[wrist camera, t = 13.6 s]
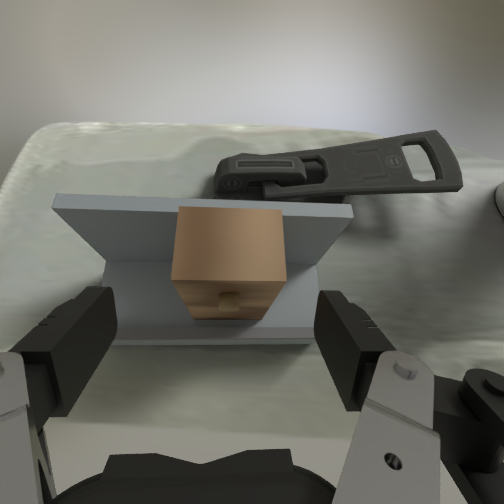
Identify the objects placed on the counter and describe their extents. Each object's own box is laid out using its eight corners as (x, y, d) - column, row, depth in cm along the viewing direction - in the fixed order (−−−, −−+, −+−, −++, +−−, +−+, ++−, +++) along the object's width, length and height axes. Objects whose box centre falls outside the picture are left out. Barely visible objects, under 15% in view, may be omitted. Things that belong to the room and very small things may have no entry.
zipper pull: (474, 191, 26) (213, 194, 24) (428, 225, 32) (215, 231, 30) (441, 124, 30) (211, 120, 27) (405, 165, 36) (213, 166, 33)
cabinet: (260, 272, 24) (281, 209, 15) (262, 330, 22) (288, 297, 13) (197, 272, 23) (178, 206, 14) (193, 330, 21) (168, 297, 12)
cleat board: (303, 269, 29) (351, 204, 18) (310, 344, 26) (373, 320, 15) (124, 266, 27) (55, 193, 16) (109, 345, 24) (13, 321, 13)
